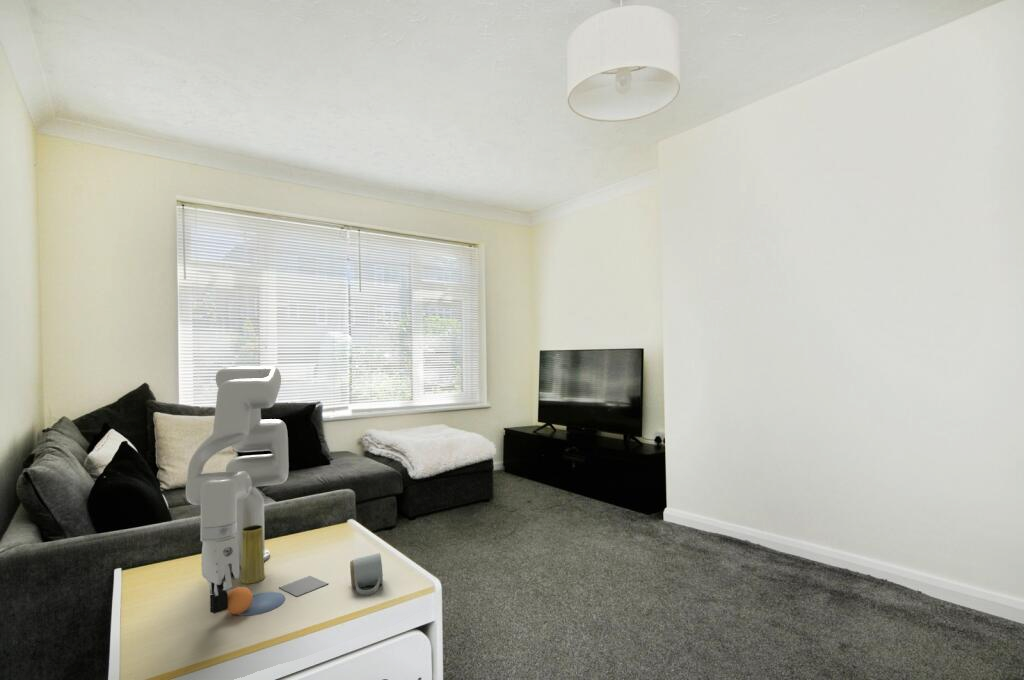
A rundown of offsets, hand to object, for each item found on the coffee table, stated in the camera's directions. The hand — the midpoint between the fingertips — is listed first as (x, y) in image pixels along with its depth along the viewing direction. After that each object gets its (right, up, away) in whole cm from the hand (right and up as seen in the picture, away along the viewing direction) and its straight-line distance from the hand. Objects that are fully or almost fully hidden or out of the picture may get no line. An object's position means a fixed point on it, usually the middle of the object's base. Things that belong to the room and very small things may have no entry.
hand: (218, 610), depth 122 cm
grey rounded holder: (+30, -3, +16) cm, 35 cm away
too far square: (+13, -3, +18) cm, 22 cm away
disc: (+5, -3, +8) cm, 10 cm away
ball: (+3, 0, +4) cm, 5 cm away
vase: (-4, -3, +23) cm, 23 cm away
